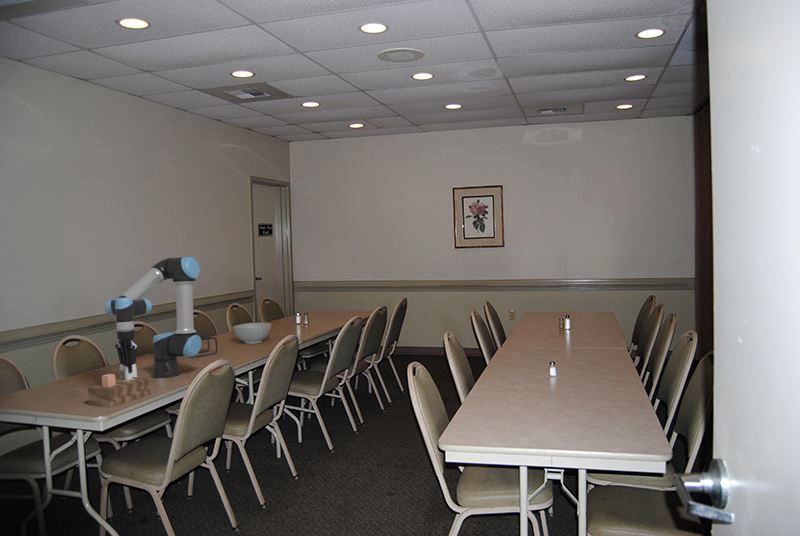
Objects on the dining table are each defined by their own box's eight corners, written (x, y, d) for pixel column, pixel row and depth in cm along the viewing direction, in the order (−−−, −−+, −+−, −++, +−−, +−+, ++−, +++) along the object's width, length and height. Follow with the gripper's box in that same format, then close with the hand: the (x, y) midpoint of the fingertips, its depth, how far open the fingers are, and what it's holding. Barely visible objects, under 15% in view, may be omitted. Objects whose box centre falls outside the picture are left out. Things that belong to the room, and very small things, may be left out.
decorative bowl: (277, 342, 419) (276, 325, 418) (239, 347, 406) (238, 329, 405) (265, 337, 442) (264, 321, 441) (229, 342, 429) (228, 325, 428)
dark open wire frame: (183, 356, 382) (181, 322, 381) (209, 351, 393) (207, 318, 392) (192, 358, 372) (190, 323, 371) (218, 354, 384) (216, 320, 383)
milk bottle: (133, 387, 303) (130, 348, 301) (141, 389, 298) (137, 349, 296) (118, 390, 297) (115, 351, 295) (126, 392, 292) (122, 352, 290)
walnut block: (129, 392, 292) (128, 376, 291) (149, 394, 286) (148, 378, 285) (89, 404, 272) (88, 387, 271) (110, 407, 266) (109, 389, 266)
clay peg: (110, 390, 276) (109, 373, 276) (116, 391, 275) (115, 374, 274) (102, 393, 273) (101, 375, 272) (108, 393, 271) (107, 376, 271)
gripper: (109, 331, 281) (112, 380, 283) (128, 331, 276) (132, 381, 277) (122, 328, 288) (125, 376, 289) (141, 329, 283) (145, 378, 284)
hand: (128, 379), depth 283 cm, fingers closed
